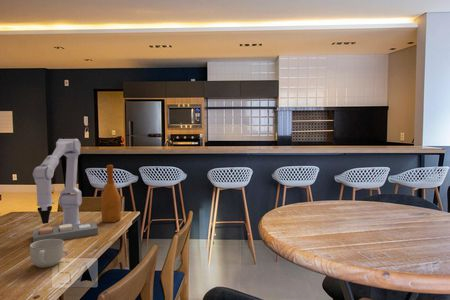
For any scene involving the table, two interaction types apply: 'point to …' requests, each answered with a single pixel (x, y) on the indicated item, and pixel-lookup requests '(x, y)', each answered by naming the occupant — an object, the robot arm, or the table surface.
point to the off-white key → (65, 227)
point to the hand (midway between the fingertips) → (45, 223)
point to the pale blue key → (84, 226)
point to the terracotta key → (45, 230)
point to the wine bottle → (110, 199)
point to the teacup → (46, 252)
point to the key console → (67, 232)
